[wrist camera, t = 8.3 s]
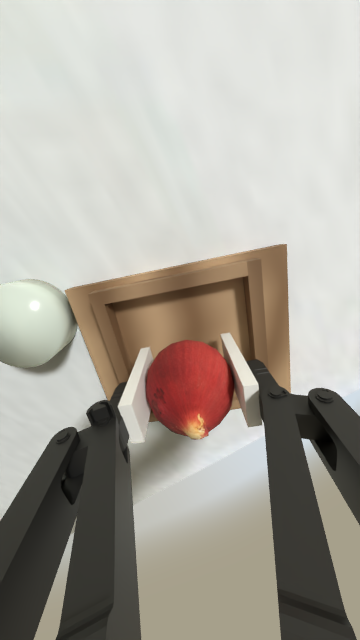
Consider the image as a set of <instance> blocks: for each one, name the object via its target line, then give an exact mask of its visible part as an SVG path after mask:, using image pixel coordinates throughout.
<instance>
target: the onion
mask: <svg viewBox="0 0 360 640" xmlns="http://www.w3.org/2000/svg"><path fill="white" fill-rule="evenodd" d="M234 388H235V385H234V379H233V375H232V372H231V369H230V366H229V364H228V363H227V361H226V360H225V358H224V357H223V356H222V355H221V354H220V353H219V352H218V350H217V349H215V348H213V347H211V346H209V345H208V344H206V343H204V342H200V341H193V340H183V341H179V342H176V343H172V344H170V345H168V346H167V347H166V348H164V349H163V350H161V351H160V352H159V353H158V355H157V356H156V358H155V359H154V361H153V362H152V364H151V366H150V368H149V369H148V374H147V383H146V396H147V399H148V402H149V404H150V407H151V409H152V411H153V414H154V415H155V417H156V418H157V419H158V420H159V421H160V422H161V423H162V424H163V425H164V426H166V427H167V428H168V429H169V430H171V431H172V432H174V433H177V434H181V435H185V436H189V437H190V438H191V439H202V438H203V437H205V436H208V432H209V431H211V430H212V429H213V428H215V427H216V426H217V425H219V424H220V423H221V421H222V420H223V419H224V417H225V416H226V415H227V413H228V412H229V411H230V409H231V407H232V401H233V395H234Z"/></svg>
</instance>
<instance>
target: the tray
mask: <svg viewBox="0 0 360 640" xmlns="http://www.w3.org/2000/svg"><path fill="white" fill-rule="evenodd" d="M65 293H66V295H67V298H68V300H69V303H70V305H71V308H72V310H73V313H74V315H75V318H76V320H77V323H78V326H79V328H80V331H81V333H82V336H83V338H84V341H85V343H86V346H87V348H88V351H89V353H90V356H91V358H92V361H93V363H94V366H95V369H96V371H97V374H98V376H99V379H100V381H101V384H102V386H103V389H104V391H105V394H106V396H107V399H108V401H110V399H111V397H112V395H113V392H114V390H115V388H116V387H117V386H118V385H119V384H120V383H122V382H128V380H129V377H130V375H131V372H132V370H133V367H134V365H135V362H136V360H137V357H138V354H139V352H140V349H141V348H146V347H150V350H151V353H152V357H153V360H154V359H155V358H156V356H157V355H158V353H159V352H160V351H161V350H163V349H164V348H166V347H167V346H168V345H170V344H172V343H176V342H179V341H183V340H193V341H200V342H204V343H206V344H208V345H209V346H211V347H213V348H215V349H217V350H218V352H219V353H220V354H221V355H222V356H223V357H224V355H223V349H222V342H221V335H220V334H224V333H230V334H231V336H232V337H233V339H234V341H235V343H236V345H237V346H238V348H239V350H240V352H241V354H242V355H243V357H244V359H245V361H250V360H255V359H258V360H259V361H261V362H263V363H264V365H265V366H266V368H267V369H268V371H269V373H271V375H272V376H273V378H274V379H275V381H276V382H277V383H278V385H279V386H280V387H283V388H285V389H286V390H287V391H288V392H289V393H291V388H290V350H289V313H288V275H287V244H279V245H274V246H270V247H265V248H260V249H255V250H250V251H246V252H241V253H236V254H231V255H226V256H222V257H217V258H212V259H207V260H202V261H198V262H193V263H188V264H183V265H178V266H174V267H169V268H164V269H159V270H154V271H150V272H145V273H140V274H135V275H130V276H126V277H121V278H116V279H111V280H106V281H102V282H97V283H92V284H87V285H82V286H78V287H73V288H70V289H67V290H65ZM239 408H241V406H240V404H239V401H238V398H237V395H236V393H235V390H234V395H233V401H232V407H231V409H230V410H232V409H239ZM153 421H159V420H158V419H157V418H156V417H155V415H154V414H153V411H152V409H151V411H150V417H149V422H153Z"/></svg>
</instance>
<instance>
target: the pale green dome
mask: <svg viewBox="0 0 360 640" xmlns="http://www.w3.org/2000/svg"><path fill="white" fill-rule="evenodd" d="M76 331H77V320H76V318H75V315H74V313H73V310H72V308H71V305H70V303H69V300H68V298H67V296H66V295H65V294H64V293H63V292H61V291H60V290H59V289H58V288H56V287H55V286H53V285H51V284H49V283H47V282H44V281H40V280H35V279H25V280H19V281H15V282H10V283H5V284H0V361H1V362H3V363H5V364H8V365H11V366H15V367H22V368H30V367H36V366H39V365H42V364H44V363H46V362H47V361H49V360H50V359H51V358H52V357H53V356H55V355H56V354H57V353H58V352H59V351H60V350H62V349H63V348H64V347H65V346H66V345H67V344H69V343H70V342H71V340H72V339H73V338H74V336H75V334H76Z"/></svg>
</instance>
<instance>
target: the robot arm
mask: <svg viewBox="0 0 360 640" xmlns="http://www.w3.org/2000/svg"><path fill="white" fill-rule="evenodd" d="M220 335H221V342H222V349H223V355H224V358H225V360H226V361H227V363H228V364H229V366H230V369H231V372H232V375H233V379H234V385H235V388H234V390H235V393H236V395H237V398H238V401H239V404H240V406H241V409H242V412H243V414H244V417H245V420H246V423H247V425H248V427H253V426H259V425H262V420H263V422H264V427H265V439H266V451H267V465H268V477H269V489H270V502H271V514H272V528H273V540H274V551H275V565H276V578H277V590H278V603H279V617H280V630H281V640H357V639H356V636H355V634H354V631H353V628H352V626H351V624H350V622H349V620H348V618H347V616H346V613H345V610H344V606H343V602H342V598H341V595H340V590H339V586H338V582H337V578H336V574H335V571H334V567H333V563H332V559H331V555H330V551H329V547H328V543H327V539H326V535H325V531H324V527H323V523H322V519H321V515H320V511H319V507H318V503H317V499H316V495H315V491H314V487H313V483H312V479H311V475H310V472H309V468H308V464H307V460H306V456H305V452H304V448H303V444H302V440H301V438H304V439H309V440H310V441H311V443H312V445H313V446H314V448H315V450H316V452H317V453H318V455H319V457H320V458H321V460H322V462H323V464H324V465H325V467H326V469H327V470H328V472H329V474H330V475H331V477H332V479H333V480H334V482H335V484H336V486H337V487H338V489H339V490H340V492H341V494H342V496H343V498H344V499H345V501H346V503H347V504H348V506H349V508H350V509H351V511H352V513H353V515H354V516H355V518H356V520H357V521H358V523H359V525H360V416H358V414H357V413H356V412H355V411H354V410H353V409H352V408H351V407H350V406H349V405H348V404H347V403H346V402H345V401H344V400H343V399H342V398H341V397H340V396H339V395H338V394H337V393H336V392H334V391H331V390H329V389H324V388H315V389H312V390H311V391H309V394H308V396H304V395H294V394H290V393H289V392H288V391H287V390H286V389H285V388H283V387H280V386H279V385H278V383H277V382H276V381H275V379H274V378H273V376H272V375H271V373H269V371H268V369H267V368H266V366H265V365H264V363H263V362H261V361H259V360H258V359H255V360H250V361H245V359H244V357H243V355H242V354H241V352H240V350H239V348H238V346H237V345H236V343H235V341H234V339H233V337H232V336H231V334H230V333H224V334H220ZM153 361H154V360H153V357H152V353H151V350H150V347H146V348H141V349H140V352H139V354H138V357H137V360H136V362H135V365H134V367H133V370H132V372H131V375H130V377H129V380H128V382H122V383H120V384H119V385H118V386H117V387H116V388H115V390H114V392H113V395H112V397H111V399H110V401H108V400H103V401H99V402H97V403H95V404H94V405H92V406H91V407H90V408H89V409H88V411H87V413H86V414H87V416H88V419H89V421H90V423H91V427H89V428H87V429H84V430H82V431H79V432H77V430H76V428H74V427H68V428H65V429H63V430H61V431H59V432H58V433H57V434H56V435H55V436H54V437H53V438H52V439H51V441H50V442H49V444H48V445H47V447H46V449H45V450H44V452H43V453H42V455H41V457H40V458H39V460H38V461H37V463H36V465H35V466H34V468H33V470H32V471H31V473H30V474H29V476H28V478H27V479H26V481H25V482H24V484H23V486H22V487H21V489H20V490H19V492H18V494H17V495H16V497H15V499H14V500H13V502H12V503H11V505H10V507H9V508H8V510H7V511H6V513H5V515H4V516H3V518H2V519H1V521H0V640H33V639H34V637H35V634H36V631H37V628H38V625H39V622H40V619H41V616H42V614H43V611H44V607H45V605H46V602H47V599H48V596H49V593H50V591H51V588H52V585H53V582H54V579H55V576H56V573H57V570H58V568H59V565H60V562H61V559H62V556H63V553H64V550H65V547H66V544H67V542H68V539H69V536H70V533H71V530H72V527H73V525H74V522H75V519H76V516H77V520H76V527H75V533H74V540H73V546H72V552H71V558H70V565H69V571H68V577H67V583H66V590H65V596H64V603H63V609H62V616H61V622H60V628H59V631H58V635H57V637H56V640H141V630H140V614H139V598H138V582H137V566H136V550H135V533H134V518H133V501H132V485H131V469H130V452H129V448H128V445H127V443H128V439H129V438H130V440H131V443H132V444H135V443H142V442H145V438H146V433H147V427H148V422H149V417H150V411H151V407H150V404H149V402H148V399H147V396H146V383H147V374H148V369H149V368H150V366H151V364H152V362H153ZM77 513H78V514H77Z"/></svg>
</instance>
